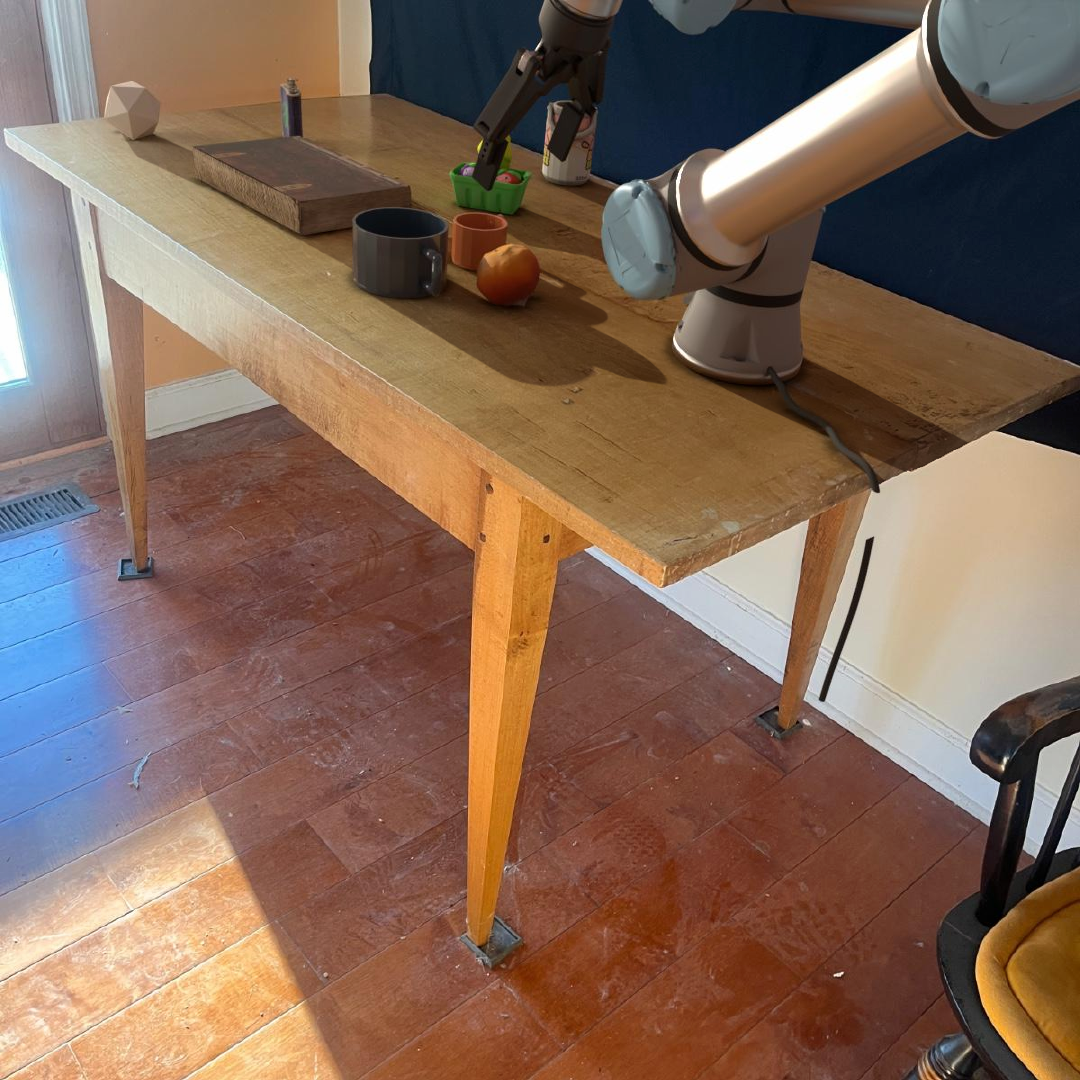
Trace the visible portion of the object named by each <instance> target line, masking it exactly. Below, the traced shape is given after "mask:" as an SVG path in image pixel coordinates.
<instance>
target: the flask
mask: <svg viewBox="0 0 1080 1080" xmlns="http://www.w3.org/2000/svg"><path fill="white" fill-rule="evenodd" d="M285 81H286V83H281V84H280V85H279V92H280V93H279V94H280V95H279V96H280V109H281V132H282V133H281V137H290V136H301V137H303V138H304V130H303V128H304V127H303V109H302V108H303V107H302V92H301V90H300V89H299V88H298V86H297V84H296V82H298V81H299V78H295V77H294V78H285Z"/></svg>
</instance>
